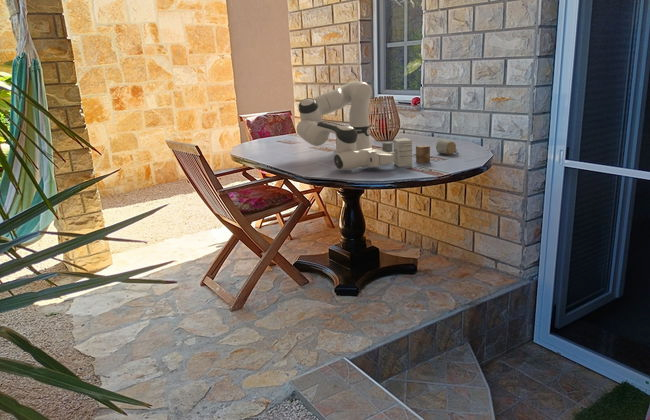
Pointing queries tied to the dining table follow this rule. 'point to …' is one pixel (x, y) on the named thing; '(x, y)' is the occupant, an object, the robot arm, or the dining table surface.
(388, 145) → the grey rounded cylinder
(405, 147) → the supplement box
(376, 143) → the dining table surface
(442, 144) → the ceramic mug
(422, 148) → the walnut block
